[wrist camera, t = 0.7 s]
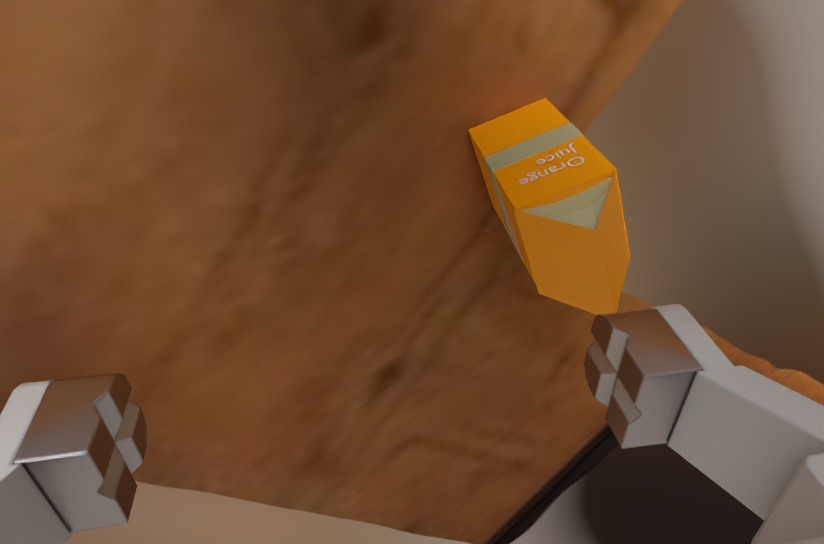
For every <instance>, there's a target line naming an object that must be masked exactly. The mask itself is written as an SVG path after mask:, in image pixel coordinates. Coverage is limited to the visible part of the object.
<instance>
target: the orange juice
mask: <svg viewBox="0 0 824 544" xmlns="http://www.w3.org/2000/svg"><path fill="white" fill-rule="evenodd" d="M468 132H469V135H470V138H471V141H472V144H473V147H474V150H475V153H476V156H477V159H478V162H479V165H480V168H481V171H482V174H483V178H484V181H485V184H486V187H487V190H488V193H489V196H490V199H491V202H492V205H493V207H494V209H495V211H496V212H497V214H498V216H499V218H500V220H501V222H502V223H503V225H504V227H505V229H506V231H507V233H508V234H509V237H510V239H511V241H512V243H513V245H514V246H515V248H516V250H517V252H518V253H519V255H520V256H521V258H522V261H523V262H524V264H525V266H526V268H527V269H528V271H529V273H530V275H531V277H532V279H533V280H534V282H535V284H536V286H537V290H538V293H539V294H541V295H544V296H546V297H549V298H552V299H555V300H557V301H560V302H563V303H566V304H568V305H571V306H574V307H577V308H579V309H582V310H585V311H588V312H590V313H593V314H596V315H598V314H605V313H613V312H616V311H617V307H618V303H619V299H620V295H621V291H622V287H623V283H624V280H625V276H626V272H627V268H628V264H629V261H630V260H631V257H630V251H629V245H628V238H627V232H626V226H625V219H624V214H623V207H622V201H621V195H620V188H619V182H618V175H617V169H616V168H615V167H614V166H613V165H612V164H611V163H610V162H609V161H608V160H607V159H606V158H605V157H604V156H603V155H602V154H601V153H600V152H599V151H598V150H597V149H596V148H595V147H594V146H593V145H592V144H591V143H590V142H589V141H588V140H587V139H586V138H585V137H584V136H583V134H582V133H581V132H580V131H579V130H578V129H577V128H576V127H575V126H574V125H573V124H572V123H571V122H569V121H568V120H567V119H566V118H565V117H564V116H563V115H562V114H561V113H560V112H559V111H558V110H557V109H556V108H555V107H554V106H553V105H552V104H551V103H550V102H549V101H548V100H547V99H546V98H543V99H541V100H538V101H536V102H534V103H531V104H529V105H526V106H524V107H522V108H519V109H517V110H514V111H512V112H510V113H507V114H505V115H502V116H500V117H498V118H495V119H493V120H490V121H488V122H486V123H483V124H481V125H478V126H476V127H474V128H471V129H469V130H468Z"/></svg>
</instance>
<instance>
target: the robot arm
mask: <svg viewBox="0 0 824 544" xmlns="http://www.w3.org/2000/svg"><path fill="white" fill-rule="evenodd" d="M591 332H592V334H593V335H594V337H595V339H596V340H595V341H594V342H593V343H592V344H591V345H590V346H589V347H588V348H587V351H586V357H585V362H584V363H585V373H586V379H587V382H588V385H589V388H590V390H591V392H592V394H593V396H594V398H595V399H596V400H598V401H599V402H601V403H602V404H604V405H605V406H607V407H608V411H607V415H606V420H607V422H608V424H609V426H610V428H611V429H612V431H613V433H614V435H615V437H616V439H617V440H618V442H619V444H620V446H621V448H631V447H639V446H647V445H655V444H663V443H668V446H669V447H670V448H672V449H673V450H674V451H675V452H677V453H678V454H679V455H681V456H682V457H683V458H685V459H686V460H687V461H688V462H690V463H691V464H692V465H694V466H695V467H696V468H697V469H699V470H700V471H701V472H703V473H704V474H705V475H707V476H708V477H709V478H710V479H712V480H713V481H714V482H715V483H717V484H718V485H719V486H721V487H722V488H723V489H724V490H726V491H727V492H728V493H730V494H731V495H732V496H734V497H735V498H736V499H738V500H739V501H740V502H741V503H743V504H744V505H745V506H746V507H748V508H749V509H750V510H752V511H753V512H754V513H756V514H757V515H758V516H759V517H761V518H762V519H763V520H764V523H763V524H762V526H761V528H760V529H759V530H758V532H757V534H756V535H755V537H754V538H753V540H752V543H751V544H824V406H823V405H821V404H819V403H817V402H815V401H813V400H811V399H809V398H807V397H805V396H803V395H801V394H799V393H797V392H795V391H793V390H791V389H789V388H787V387H785V386H783V385H781V384H779V383H777V382H775V381H773V380H771V379H769V378H767V377H765V376H763V375H761V374H759V373H757V372H755V371H753V370H751V369H749V368H747V367H745V366H743V365H741V366H734V365H733V364H732V363H731V362H730V360H729V359H728V358H727V357H726V356H725V355H724V353H723V352H722V351H721V350H720V349H719V347H718V346H717V345H716V344H715V343H714V342H713V340H712V339H711V338H710V337H709V336H708V334H707V333H706V332H705V331H704V330H703V328H702V327H701V326H700V325H699V324H698V323H697V321H696V320H695V319H694V318H693V317H692V315H691V314H690V313H689V312H688V311H687V310H686V309H685V308H684V307H683V306H681V305H679V304H672V305H665V306H657V307H651V308H644V309H636V310H628V311H621V312H613V313H605V314H598V315H597V317H596V318H595V319H594V321H593V325H592V329H591ZM131 389H132V388H131V386H130V384H129V382H128V380H127V378H126V376H125V375H124V374H120V373H115V374H105V375H95V376H85V377H74V378H64V379H55V380H52V381H41V382H30V383H22V384H21V385H19V386H18V387H17V388H15V389H14V390H13V392H12V394H11V396H10V398H9V400H8V401H7V403H6V405H5V407H4V409H3V411H2V413H1V415H0V544H65V543H66V542H67V541H68V540H69V539H70V537H71V534H70V533H74V532H79V531H85V530H91V529H97V528H101V527H108V526H114V525H119V524H125V523H128V519H129V515H130V511H131V508H132V503H133V500H134V496H135V492H136V488H137V484H136V483H135V481H134V479H133V477H132V475H131V474H132V473H133V472H134V471H135V470H136V469H137V468H138V467H139V466H140V464H141V463H142V462H143V460H144V456H145V451H146V447H147V427H146V423H145V418H144V415H143V412H142V410H141V408H140V406H138V405H136V404H135V403H133V402H131V401H129V400H128V399H129V396H130V393H131Z"/></svg>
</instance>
